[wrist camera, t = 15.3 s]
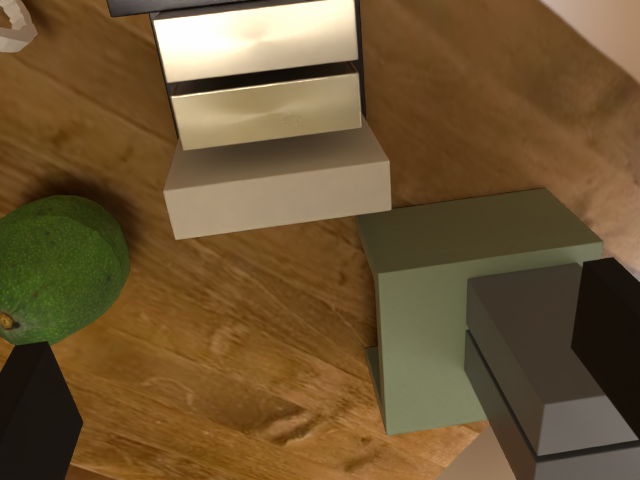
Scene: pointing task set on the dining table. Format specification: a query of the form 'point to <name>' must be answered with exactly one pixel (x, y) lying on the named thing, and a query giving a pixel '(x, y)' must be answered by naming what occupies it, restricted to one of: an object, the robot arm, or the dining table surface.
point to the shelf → (438, 292)
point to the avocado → (58, 268)
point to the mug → (16, 27)
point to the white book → (277, 182)
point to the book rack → (256, 67)
